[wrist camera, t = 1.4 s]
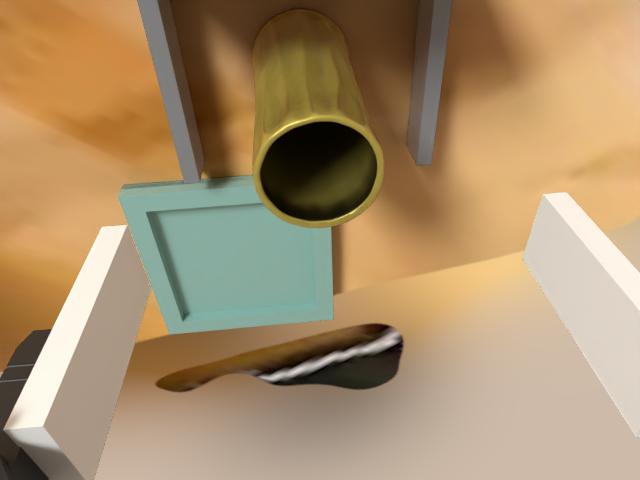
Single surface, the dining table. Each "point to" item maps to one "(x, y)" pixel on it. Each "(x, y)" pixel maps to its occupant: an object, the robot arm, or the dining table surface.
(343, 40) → the vase
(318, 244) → the tray
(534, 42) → the dining table surface
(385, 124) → the dining table surface
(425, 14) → the dock
